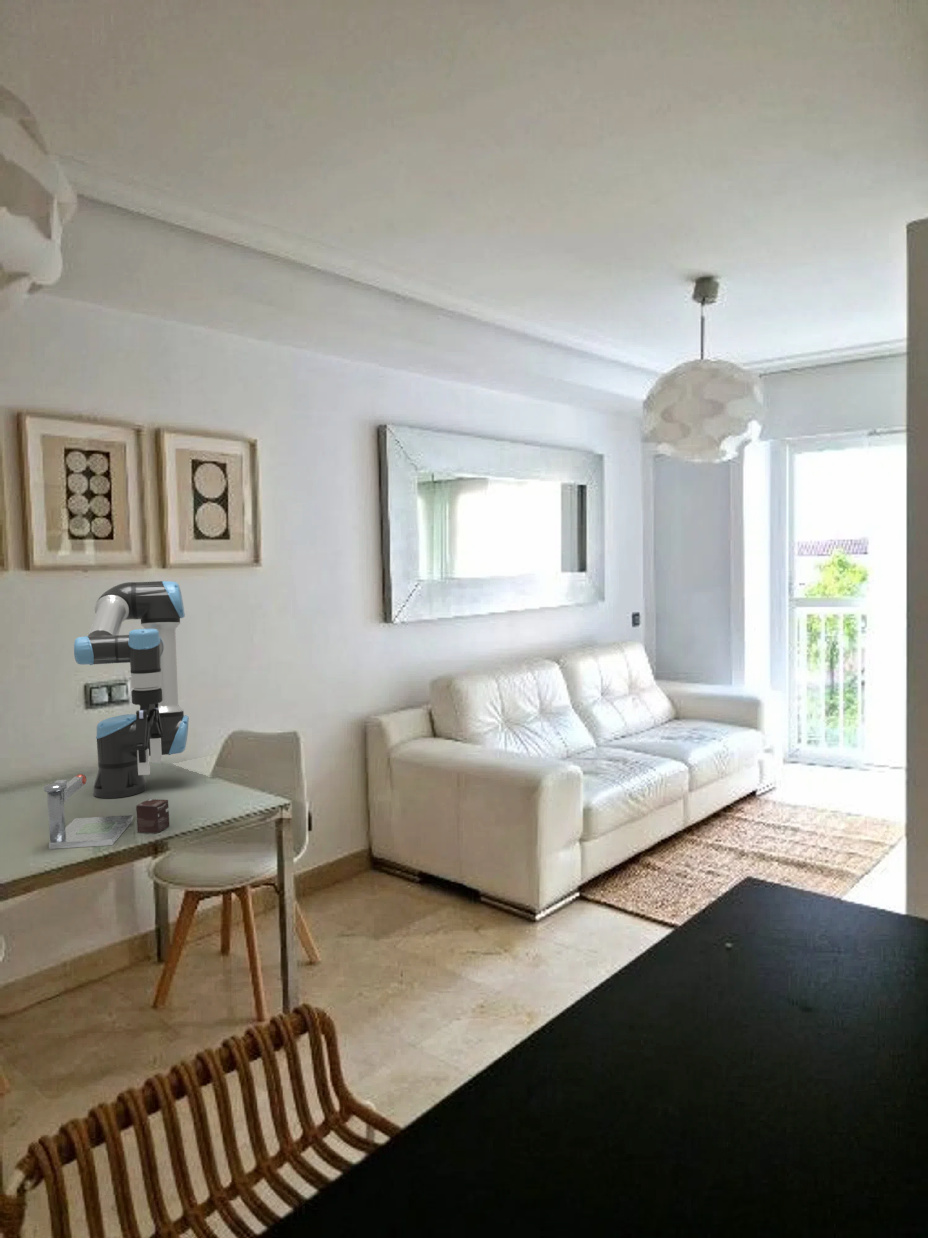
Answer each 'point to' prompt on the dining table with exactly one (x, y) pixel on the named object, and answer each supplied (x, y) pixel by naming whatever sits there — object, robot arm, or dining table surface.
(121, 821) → the press
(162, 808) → the box
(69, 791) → the lever
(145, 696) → the robot arm
